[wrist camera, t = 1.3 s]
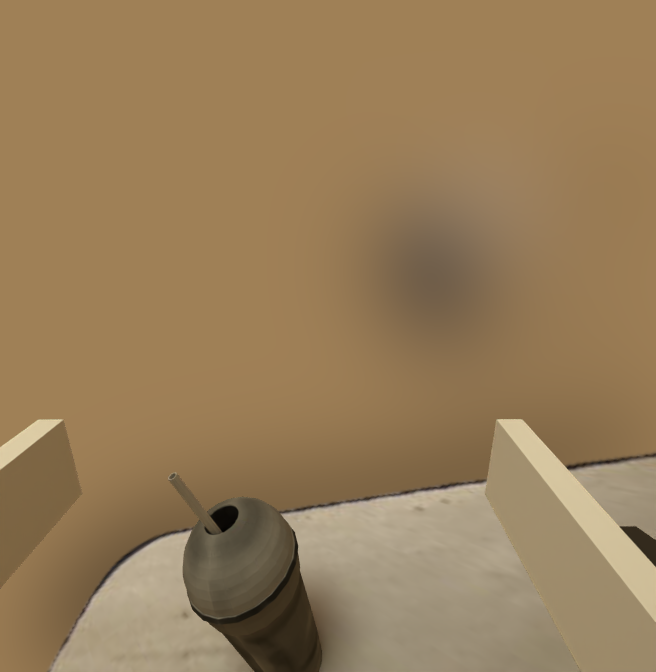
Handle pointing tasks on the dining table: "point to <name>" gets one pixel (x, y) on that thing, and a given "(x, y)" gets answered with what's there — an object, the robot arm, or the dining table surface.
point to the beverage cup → (250, 582)
